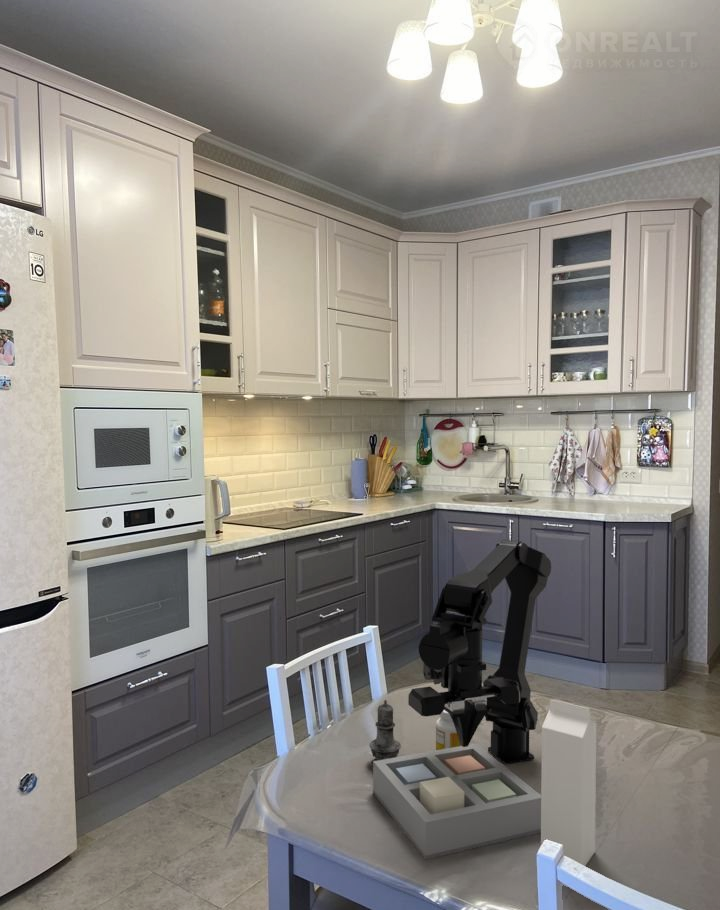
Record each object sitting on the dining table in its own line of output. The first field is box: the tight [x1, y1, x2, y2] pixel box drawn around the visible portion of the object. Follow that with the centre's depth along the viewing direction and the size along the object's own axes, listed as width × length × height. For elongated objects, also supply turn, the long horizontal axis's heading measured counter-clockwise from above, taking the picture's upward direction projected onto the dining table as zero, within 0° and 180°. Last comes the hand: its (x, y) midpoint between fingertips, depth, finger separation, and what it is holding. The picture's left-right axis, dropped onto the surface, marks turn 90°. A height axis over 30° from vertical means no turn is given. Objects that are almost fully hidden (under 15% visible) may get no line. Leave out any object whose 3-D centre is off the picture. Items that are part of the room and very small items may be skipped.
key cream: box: [420, 777, 464, 814], centre depth 105 cm, size 5×5×4 cm
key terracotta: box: [445, 755, 485, 775], centre depth 117 cm, size 5×5×4 cm
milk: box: [540, 699, 597, 866], centre depth 99 cm, size 6×6×22 cm
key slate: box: [396, 764, 436, 785], centre depth 113 cm, size 5×5×4 cm
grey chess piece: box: [369, 699, 402, 768], centre depth 127 cm, size 6×6×12 cm
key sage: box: [472, 779, 516, 803], centre depth 108 cm, size 5×5×4 cm
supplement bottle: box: [435, 710, 461, 751], centre depth 128 cm, size 5×5×10 cm
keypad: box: [372, 743, 541, 861], centre depth 111 cm, size 20×20×5 cm
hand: (464, 745), depth 116 cm, fingers closed
